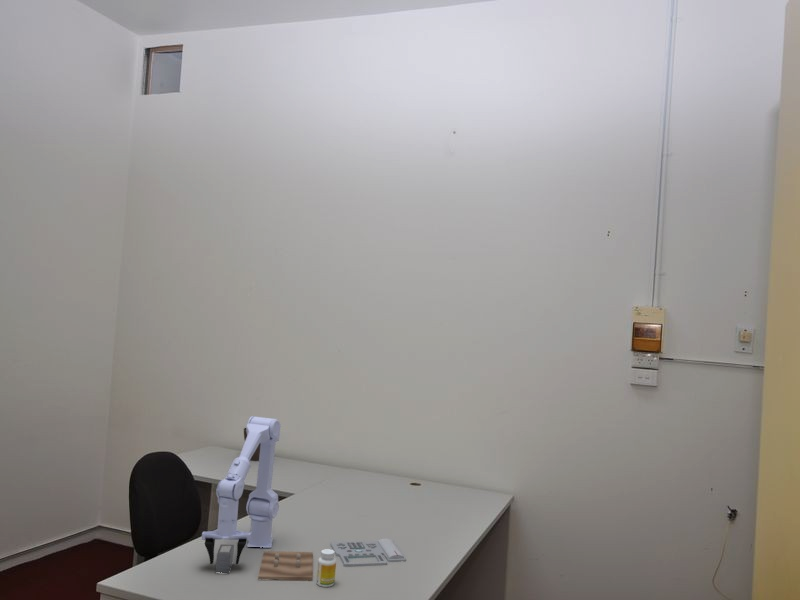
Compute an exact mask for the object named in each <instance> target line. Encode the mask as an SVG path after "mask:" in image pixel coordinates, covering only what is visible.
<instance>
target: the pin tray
mask: <svg viewBox="0 0 800 600" xmlns="http://www.w3.org/2000/svg"><path fill="white" fill-rule="evenodd" d="M313 558H314V552H313V551H281V550H279V551H276V550H272V551H271V550H264V551H263V554H262V558H261V564H260V566H259V573H258V576H257V580H258V579H280V580H279V581H307V580H308V581H311V582H312V581H313V573H314V572H313V570H314V569H313V566H314V565H313V563H314V559H313ZM281 579H282V580H281Z"/></svg>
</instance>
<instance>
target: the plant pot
mask: <svg viewBox="0 0 800 600" xmlns="http://www.w3.org/2000/svg"><path fill="white" fill-rule="evenodd" d="M243 437H244V439H243V440H244V441H245V440H246V437H247V432H246V427H243ZM260 446H261V443H259V445H258V447H257V449H256V450H255V452H254V454H253V456H252V457H251V459H250V461H255V462H259V456H260Z"/></svg>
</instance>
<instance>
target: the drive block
mask: <svg viewBox="0 0 800 600" xmlns="http://www.w3.org/2000/svg"><path fill="white" fill-rule="evenodd" d="M234 547H235V545H234V544H223V543H222V544H220V546H219V548H218V551H217V553H216V562H215V573H216V572H220V573H221V572H222V573H229V571H230V572H231V570H230V568H231V569H232V567H231V565H232V566H233V564H232V562H234V549H235V548H234ZM229 574H230V573H229Z"/></svg>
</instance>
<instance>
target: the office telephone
mask: <svg viewBox="0 0 800 600" xmlns="http://www.w3.org/2000/svg"><path fill="white" fill-rule="evenodd" d="M329 544H330V547H331V549H332V550H334V551H335V555H334V556H336V557H339V560H341V562H342V564H343V567H345V568H352V567H354V568H355V567H374V566H387V565H388V562H389V563H399V562H401V561H403V562H406V561H407V559H406V556H405V555H404V553H403V552H402V550H401V549H400V547H399V546H398V544H397V543H396V541H395V540H392V539H390V538H381V539H378V540H367V541H365V540H364V541H362V540H361V541H330V543H329ZM360 558H375V559H376V560H377V561H361V562H360V561H359V562H358V561H357V562H355V561H353V562H351V560H350V559H360Z"/></svg>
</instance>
